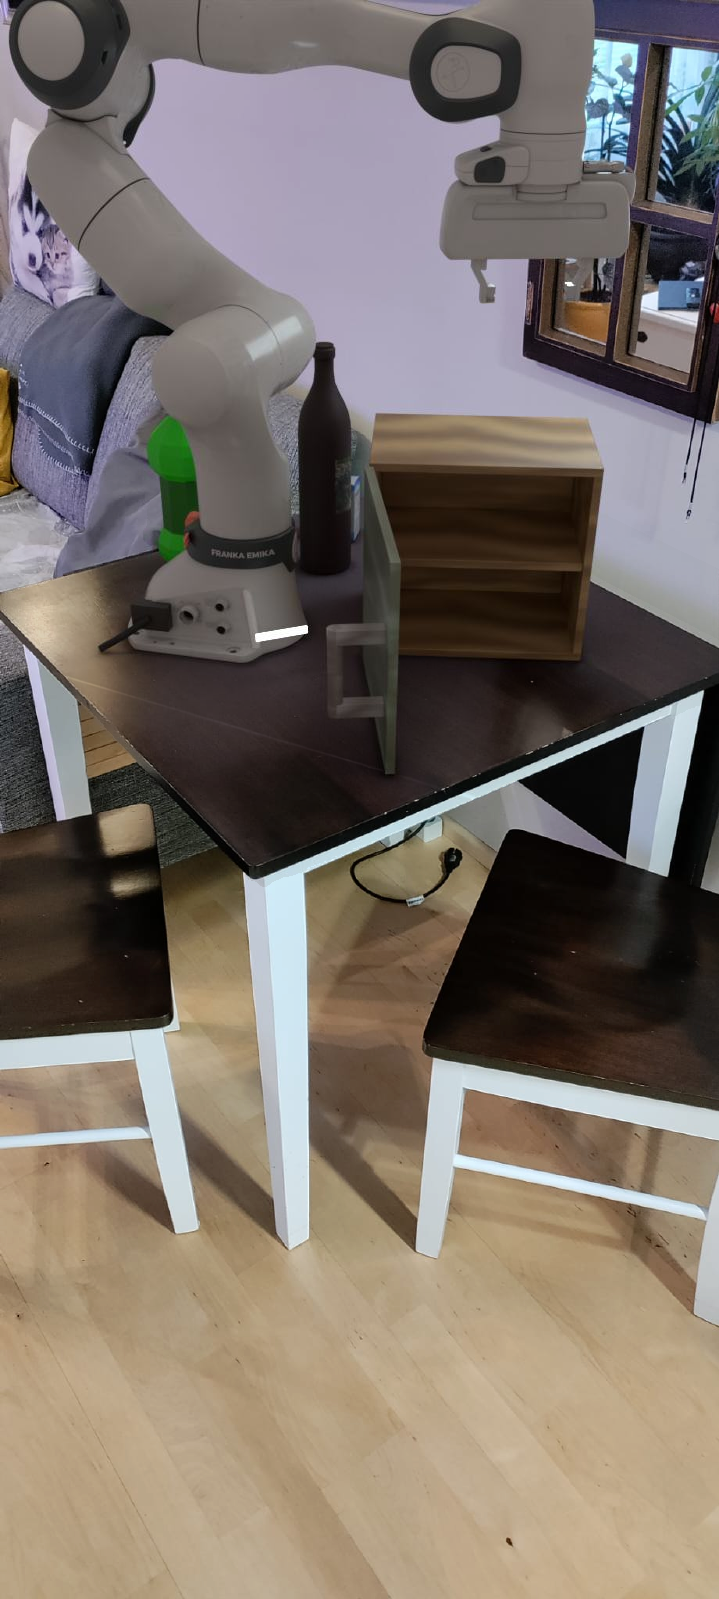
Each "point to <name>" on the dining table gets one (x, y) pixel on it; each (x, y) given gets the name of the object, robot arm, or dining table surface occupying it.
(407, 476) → the cupboard
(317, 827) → the dining table surface
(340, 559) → the wine bottle
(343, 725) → the dining table surface
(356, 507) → the medicine box
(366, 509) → the door
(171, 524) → the plastic bottle
